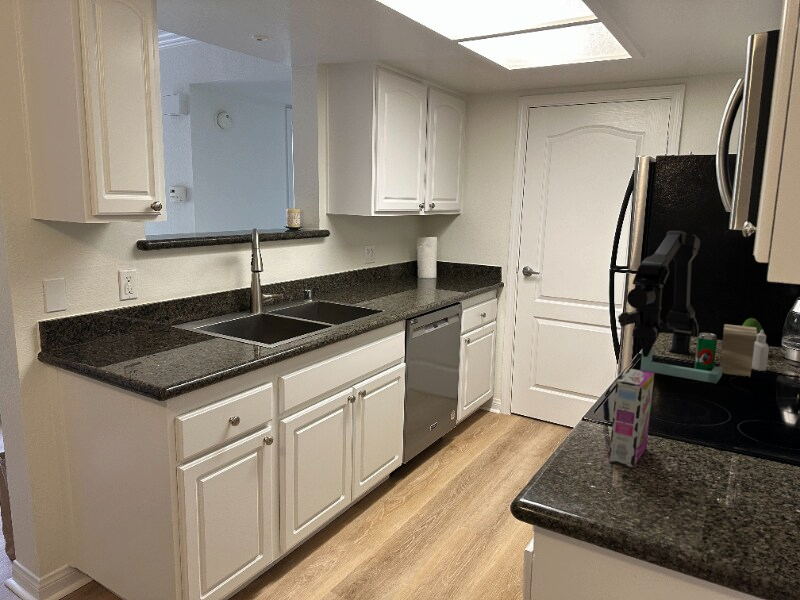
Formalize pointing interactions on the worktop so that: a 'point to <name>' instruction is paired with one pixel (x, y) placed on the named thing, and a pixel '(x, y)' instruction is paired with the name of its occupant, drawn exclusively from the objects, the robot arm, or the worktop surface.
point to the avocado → (753, 325)
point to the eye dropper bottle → (760, 352)
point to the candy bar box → (631, 417)
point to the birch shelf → (737, 349)
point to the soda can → (705, 351)
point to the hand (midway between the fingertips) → (646, 355)
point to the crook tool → (680, 370)
